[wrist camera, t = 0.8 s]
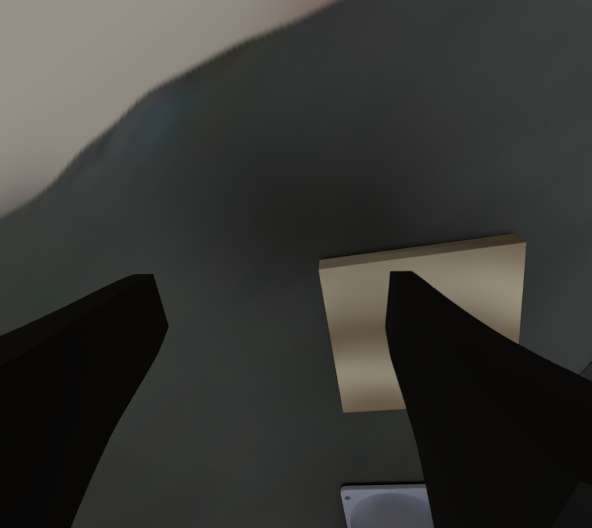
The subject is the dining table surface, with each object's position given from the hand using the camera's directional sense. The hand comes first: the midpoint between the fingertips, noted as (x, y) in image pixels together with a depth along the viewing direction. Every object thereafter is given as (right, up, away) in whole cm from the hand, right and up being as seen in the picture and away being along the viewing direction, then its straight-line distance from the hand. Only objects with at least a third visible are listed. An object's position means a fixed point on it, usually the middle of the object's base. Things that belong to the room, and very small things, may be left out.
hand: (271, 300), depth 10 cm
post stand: (+9, -3, +11) cm, 15 cm away
